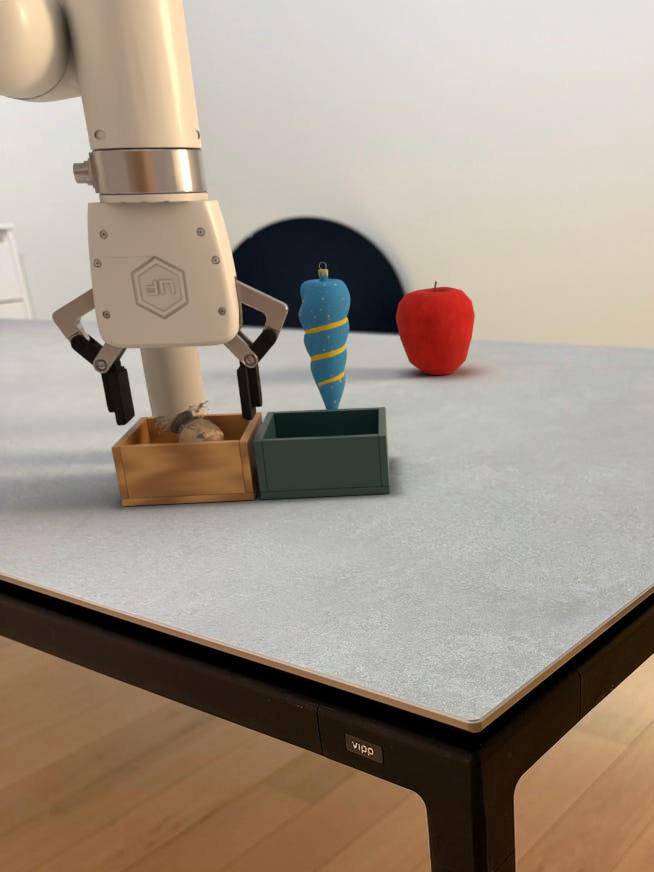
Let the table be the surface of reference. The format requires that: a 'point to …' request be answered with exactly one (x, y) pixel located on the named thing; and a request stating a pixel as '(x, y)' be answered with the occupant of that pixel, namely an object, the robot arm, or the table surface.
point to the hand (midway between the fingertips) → (188, 418)
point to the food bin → (187, 463)
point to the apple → (436, 328)
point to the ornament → (326, 333)
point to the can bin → (323, 453)
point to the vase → (190, 426)
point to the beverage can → (173, 379)
